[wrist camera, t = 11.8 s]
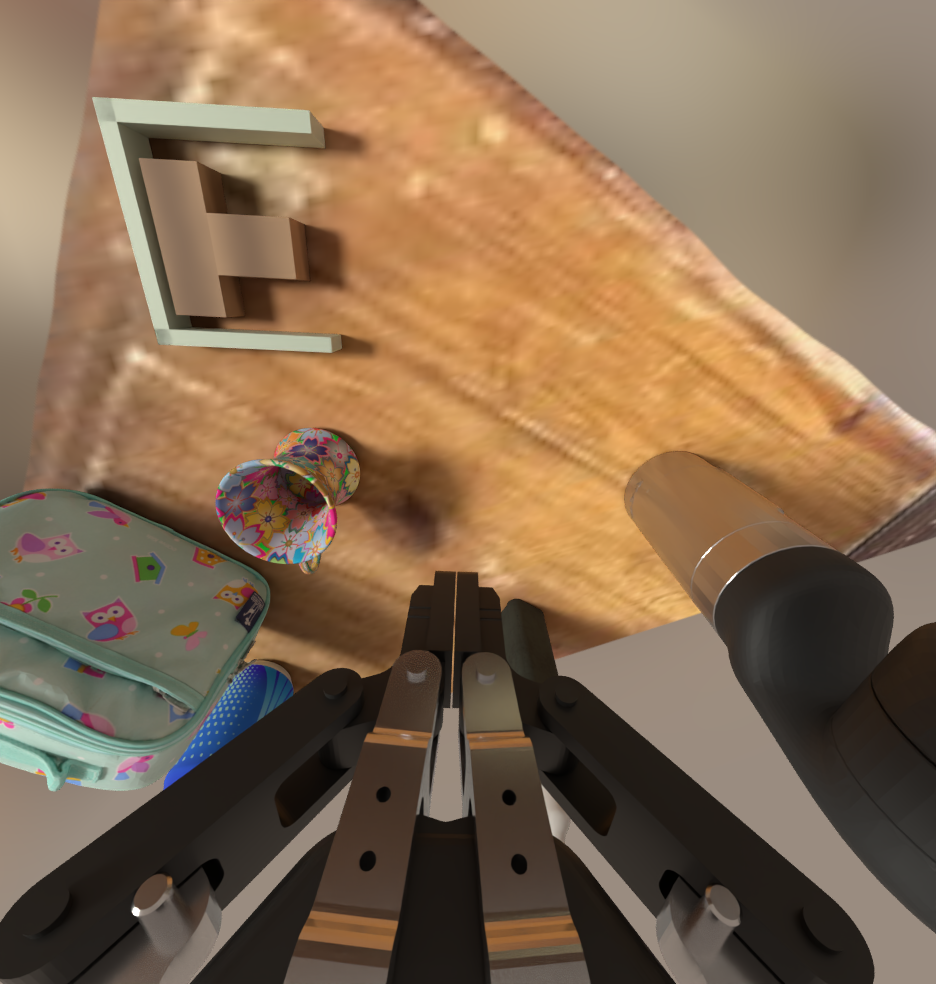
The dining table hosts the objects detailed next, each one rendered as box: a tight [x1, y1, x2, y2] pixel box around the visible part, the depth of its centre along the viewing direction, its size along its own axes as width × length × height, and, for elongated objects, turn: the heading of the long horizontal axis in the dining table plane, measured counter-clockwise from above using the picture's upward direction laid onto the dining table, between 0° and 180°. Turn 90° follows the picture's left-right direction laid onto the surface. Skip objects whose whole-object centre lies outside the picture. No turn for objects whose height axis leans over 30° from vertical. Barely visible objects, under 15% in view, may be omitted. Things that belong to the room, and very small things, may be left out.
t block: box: [139, 158, 310, 317], centre depth 32 cm, size 10×10×3 cm
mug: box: [216, 428, 360, 574], centre depth 37 cm, size 12×9×11 cm
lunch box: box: [0, 489, 270, 791], centre depth 36 cm, size 27×10×21 cm, turn 56°
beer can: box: [164, 660, 294, 789], centre depth 47 cm, size 8×8×16 cm
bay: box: [92, 97, 342, 353], centre depth 31 cm, size 14×15×3 cm
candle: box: [501, 599, 570, 844], centre depth 39 cm, size 5×5×25 cm
